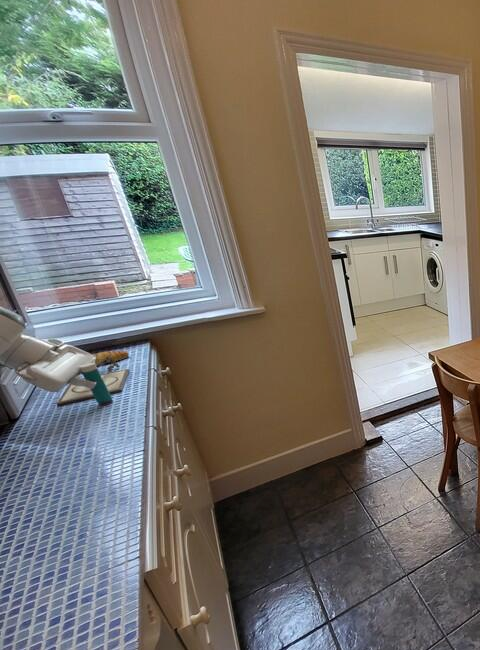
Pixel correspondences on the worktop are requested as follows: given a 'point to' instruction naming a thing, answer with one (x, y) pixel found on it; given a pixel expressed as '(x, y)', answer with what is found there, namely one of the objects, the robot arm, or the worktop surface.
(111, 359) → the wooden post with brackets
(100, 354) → the pastry
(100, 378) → the dot marker
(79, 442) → the worktop surface
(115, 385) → the drawing board
